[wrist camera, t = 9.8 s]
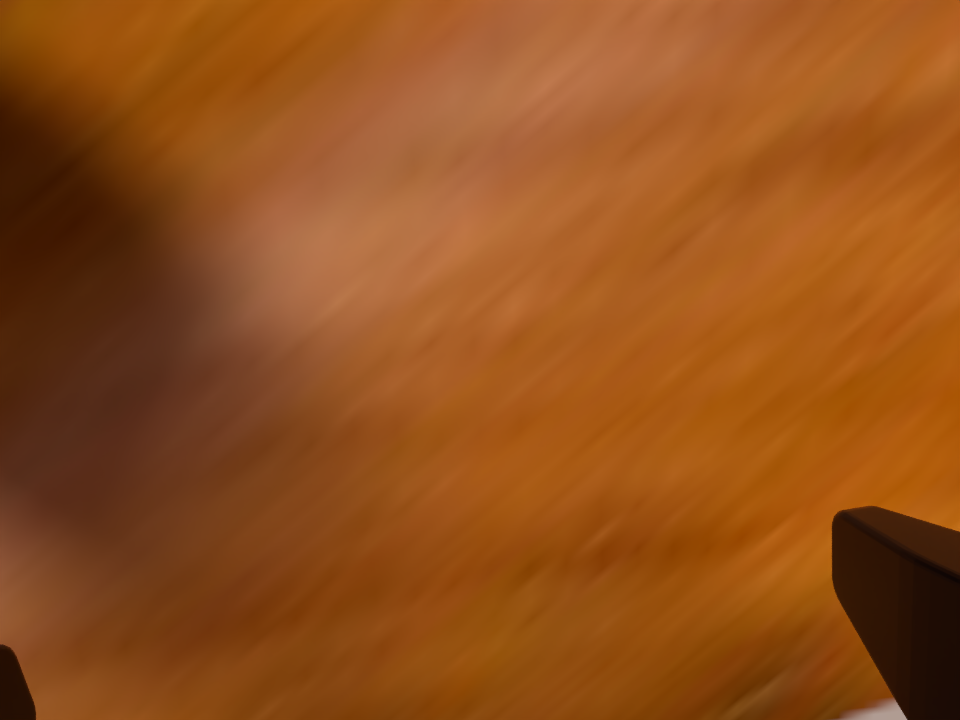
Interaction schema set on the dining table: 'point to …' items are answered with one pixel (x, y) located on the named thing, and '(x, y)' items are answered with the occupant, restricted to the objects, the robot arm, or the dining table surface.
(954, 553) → the robot arm
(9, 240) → the dining table surface
